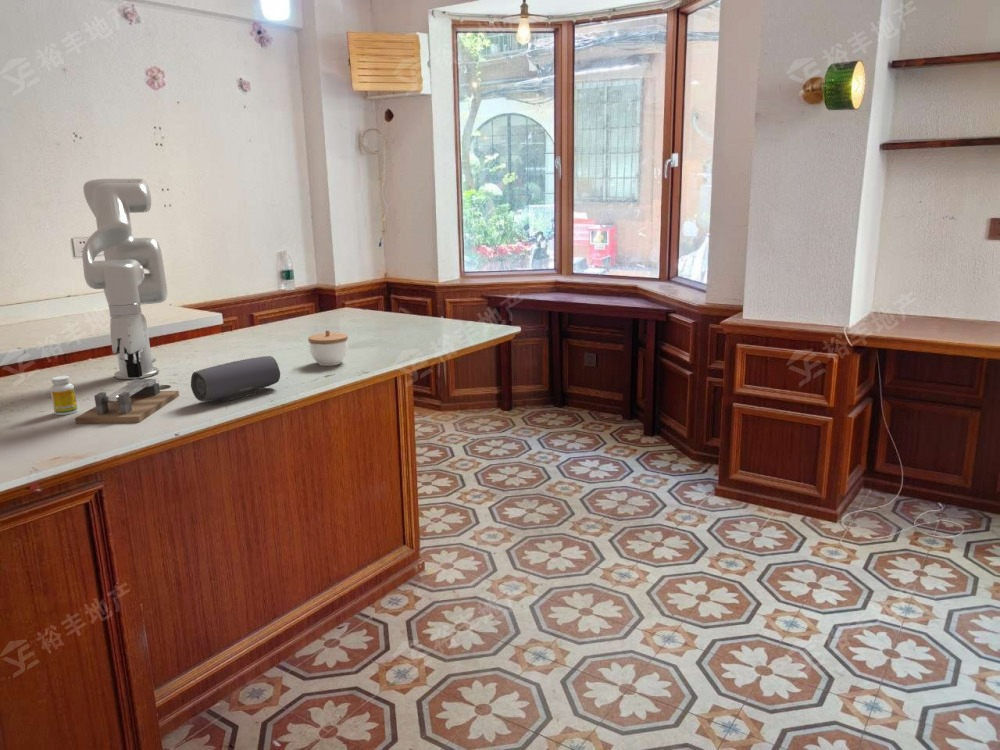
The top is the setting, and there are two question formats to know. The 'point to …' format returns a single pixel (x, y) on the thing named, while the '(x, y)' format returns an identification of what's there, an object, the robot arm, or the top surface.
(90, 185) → the robot arm
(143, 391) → the catch block
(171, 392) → the walnut board
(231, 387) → the bluetooth speaker
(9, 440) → the top surface
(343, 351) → the lidded bowl
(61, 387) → the supplement bottle
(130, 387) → the lever
